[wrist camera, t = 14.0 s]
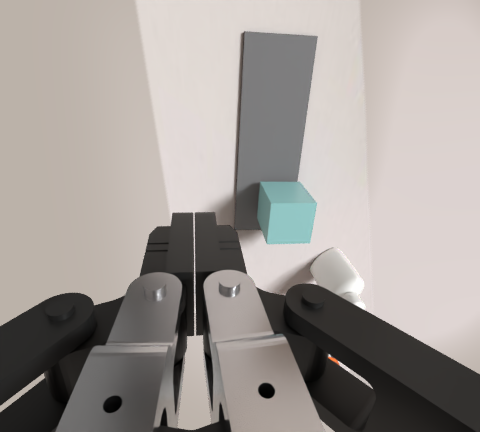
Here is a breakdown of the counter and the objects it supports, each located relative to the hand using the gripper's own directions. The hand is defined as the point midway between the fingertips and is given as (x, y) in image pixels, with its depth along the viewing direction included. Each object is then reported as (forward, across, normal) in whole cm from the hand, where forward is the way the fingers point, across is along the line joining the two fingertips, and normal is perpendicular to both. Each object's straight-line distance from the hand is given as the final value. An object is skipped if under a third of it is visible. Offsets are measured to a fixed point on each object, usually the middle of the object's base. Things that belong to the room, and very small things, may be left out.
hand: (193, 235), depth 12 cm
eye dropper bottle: (+29, -20, +22) cm, 42 cm away
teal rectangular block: (+28, -11, +11) cm, 32 cm away
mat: (+29, -10, +4) cm, 31 cm away
